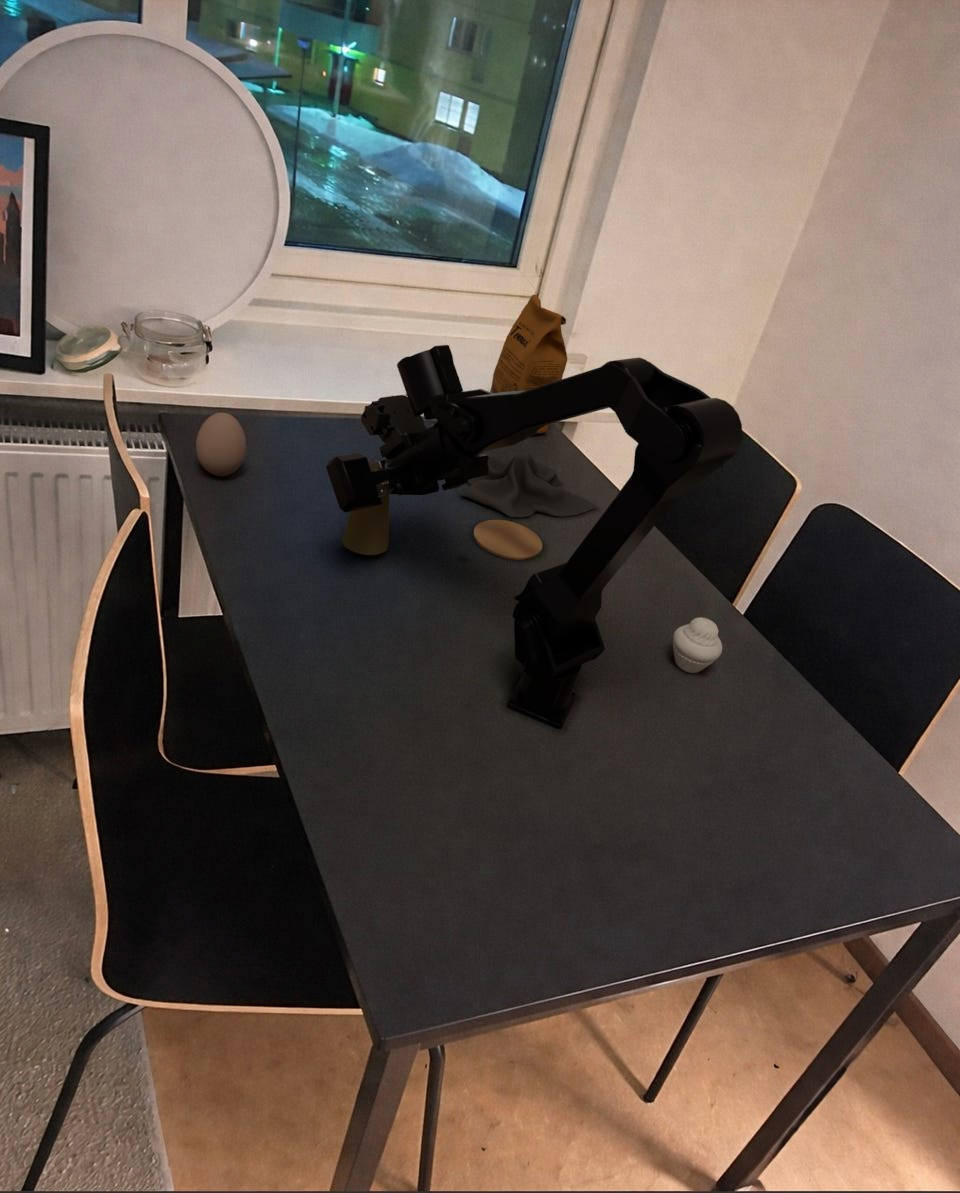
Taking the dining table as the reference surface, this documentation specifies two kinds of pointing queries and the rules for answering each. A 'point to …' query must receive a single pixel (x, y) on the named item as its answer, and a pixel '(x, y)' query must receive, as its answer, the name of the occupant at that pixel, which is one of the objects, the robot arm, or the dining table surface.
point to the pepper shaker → (368, 526)
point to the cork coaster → (507, 539)
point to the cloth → (524, 489)
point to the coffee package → (531, 352)
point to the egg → (221, 444)
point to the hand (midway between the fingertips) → (365, 492)
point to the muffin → (696, 645)
